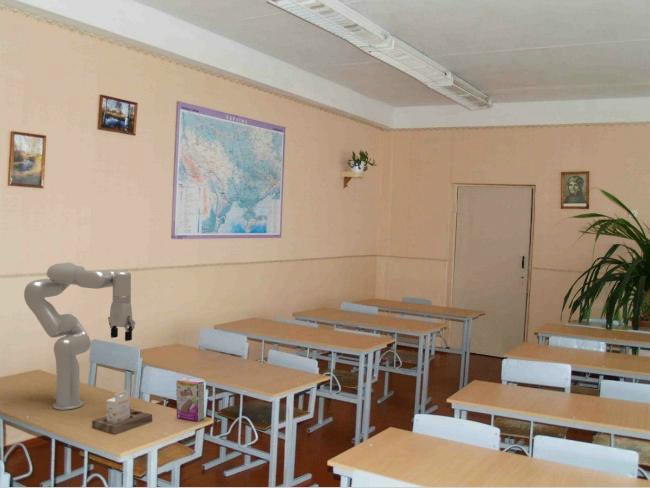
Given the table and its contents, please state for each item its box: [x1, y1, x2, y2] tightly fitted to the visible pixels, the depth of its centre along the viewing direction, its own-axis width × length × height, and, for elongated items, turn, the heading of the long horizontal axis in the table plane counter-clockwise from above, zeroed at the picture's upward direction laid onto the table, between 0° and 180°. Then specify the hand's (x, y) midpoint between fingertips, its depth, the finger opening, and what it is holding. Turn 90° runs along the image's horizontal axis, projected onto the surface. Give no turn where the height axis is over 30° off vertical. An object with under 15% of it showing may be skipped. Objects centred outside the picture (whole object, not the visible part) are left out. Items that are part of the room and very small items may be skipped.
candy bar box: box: [176, 377, 205, 422], centre depth 270 cm, size 11×5×16 cm, turn 65°
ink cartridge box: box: [106, 388, 131, 424], centre depth 260 cm, size 9×5×15 cm, turn 155°
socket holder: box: [91, 408, 153, 435], centre depth 263 cm, size 14×19×3 cm
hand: (121, 338), depth 278 cm, fingers open, 9 cm apart
